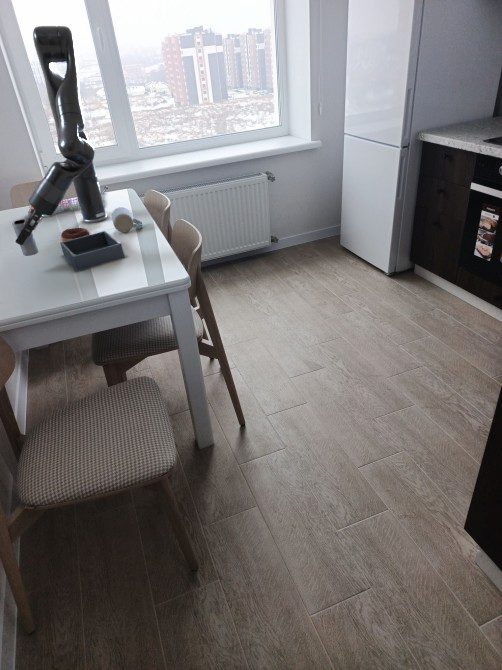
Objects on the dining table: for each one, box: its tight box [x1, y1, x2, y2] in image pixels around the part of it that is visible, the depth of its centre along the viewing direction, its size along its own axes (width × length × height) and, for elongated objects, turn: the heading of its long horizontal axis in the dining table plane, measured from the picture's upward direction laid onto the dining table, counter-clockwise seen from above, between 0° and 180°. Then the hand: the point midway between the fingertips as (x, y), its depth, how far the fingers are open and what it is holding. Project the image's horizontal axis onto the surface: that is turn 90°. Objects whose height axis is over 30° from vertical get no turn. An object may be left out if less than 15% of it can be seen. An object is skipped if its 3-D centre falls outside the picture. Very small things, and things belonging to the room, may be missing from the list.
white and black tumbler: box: [12, 218, 39, 257], centre depth 147 cm, size 4×4×10 cm
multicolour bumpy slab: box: [27, 197, 81, 218], centre depth 207 cm, size 30×15×5 cm, turn 104°
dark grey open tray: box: [59, 230, 125, 272], centre depth 156 cm, size 17×16×5 cm
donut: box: [60, 226, 91, 242], centre depth 171 cm, size 10×10×4 cm
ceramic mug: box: [111, 206, 144, 233], centre depth 177 cm, size 11×8×8 cm
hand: (19, 240), depth 147 cm, fingers closed on white and black tumbler, 4 cm apart
